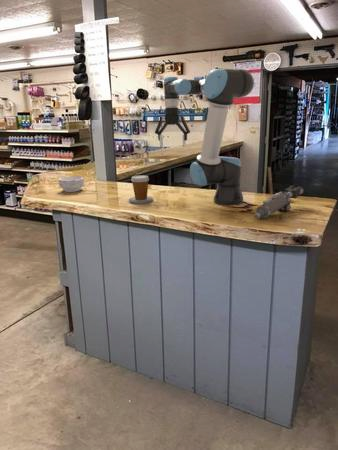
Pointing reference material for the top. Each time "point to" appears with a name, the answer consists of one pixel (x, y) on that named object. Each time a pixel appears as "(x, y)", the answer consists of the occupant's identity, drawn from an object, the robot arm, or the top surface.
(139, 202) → the slate dish
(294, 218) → the top surface
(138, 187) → the disposable coffee cup
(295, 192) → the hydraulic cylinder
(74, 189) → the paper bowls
